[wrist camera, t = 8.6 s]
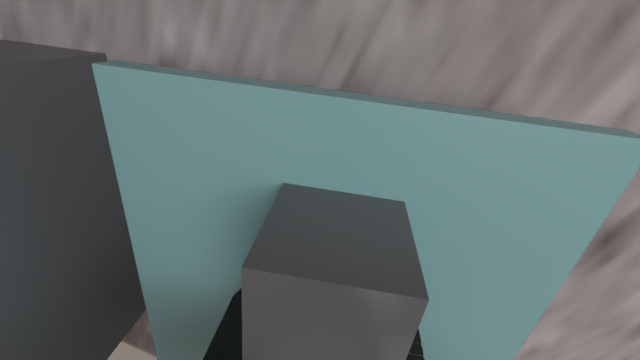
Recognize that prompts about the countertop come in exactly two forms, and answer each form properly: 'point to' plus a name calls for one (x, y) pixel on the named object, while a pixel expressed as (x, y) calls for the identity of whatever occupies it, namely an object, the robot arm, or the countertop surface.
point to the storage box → (60, 212)
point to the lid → (348, 214)
